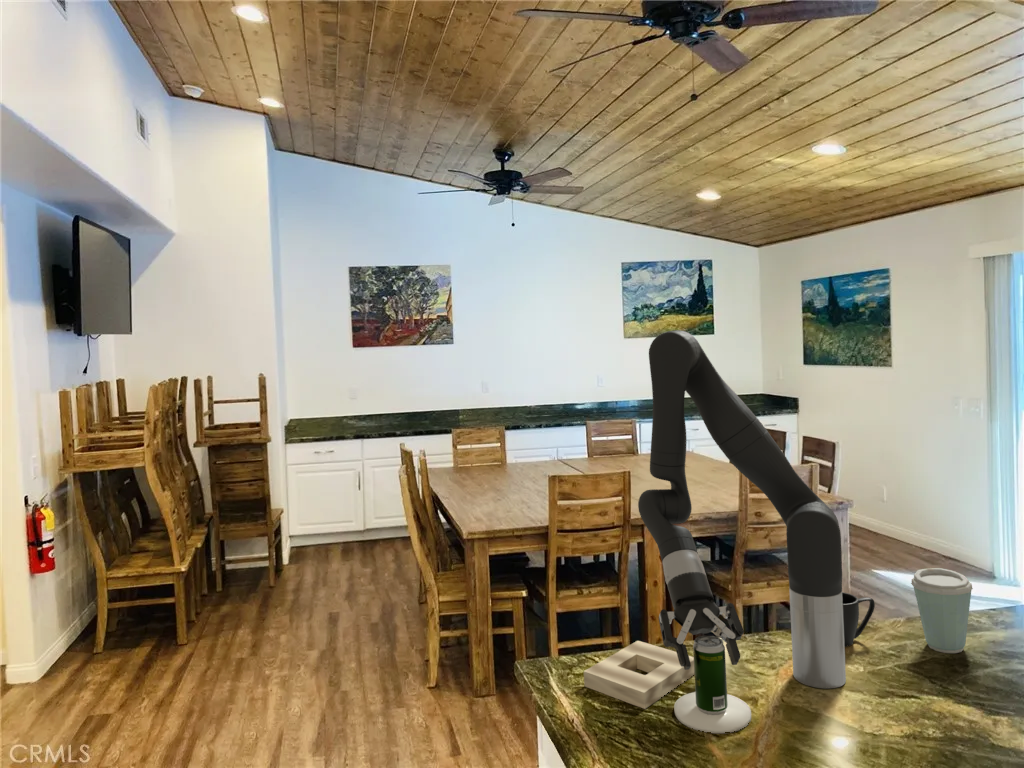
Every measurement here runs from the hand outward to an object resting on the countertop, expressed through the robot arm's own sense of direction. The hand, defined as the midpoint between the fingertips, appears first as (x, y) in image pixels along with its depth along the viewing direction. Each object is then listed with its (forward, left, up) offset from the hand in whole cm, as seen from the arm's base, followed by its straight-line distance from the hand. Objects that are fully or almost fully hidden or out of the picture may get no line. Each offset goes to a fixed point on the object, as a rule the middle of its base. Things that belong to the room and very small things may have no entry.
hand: (712, 665), depth 123 cm
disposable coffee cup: (-52, +22, -9) cm, 58 cm away
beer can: (-1, -1, -8) cm, 8 cm away
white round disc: (0, -1, -9) cm, 9 cm away
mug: (-44, +6, -9) cm, 46 cm away
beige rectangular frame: (-3, -18, -9) cm, 20 cm away
